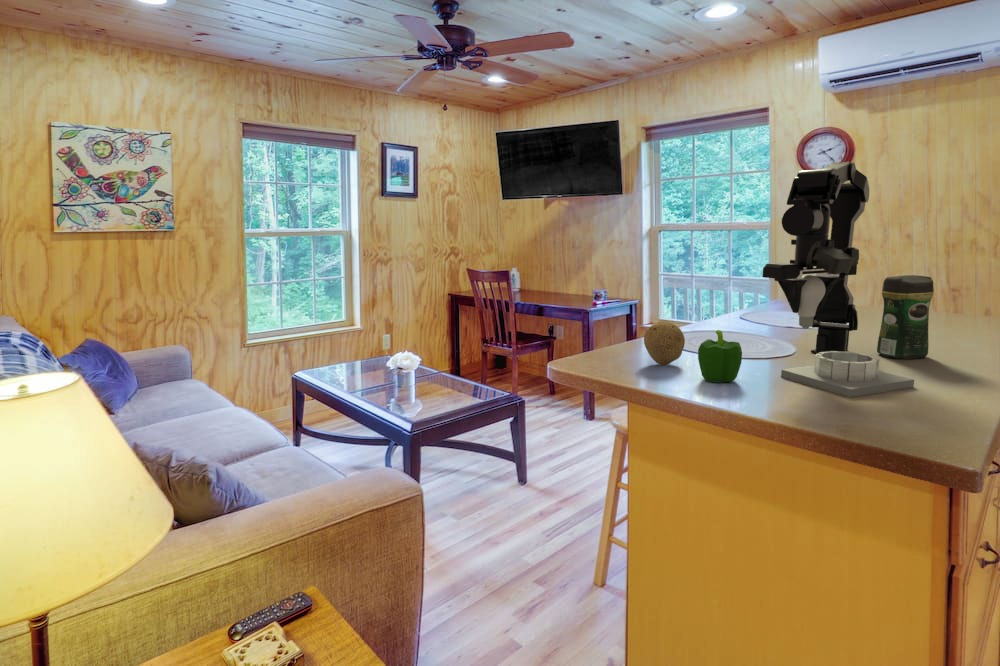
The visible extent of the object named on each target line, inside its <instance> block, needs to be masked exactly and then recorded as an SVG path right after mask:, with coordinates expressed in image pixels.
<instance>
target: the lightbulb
mask: <svg viewBox="0 0 1000 666" xmlns="http://www.w3.org/2000/svg"><path fill="white" fill-rule="evenodd" d="M802 279H803V280H807V282H806V283H805V284H804V285H803V286H802V289H801V299H800V307H799V312H798V313H797V315H798V325H799V326H800V327H802V329H805V330H807V329H809V328H812V326H813V319H814V316H815V313H816V309H817V306H818V304H819V303H820V301H821V300H822V298H823V297H824V295H825V290H826V289H825V285H824V283H823V281H822V280H821V279H819V278H818V277H816V276H815V275H812V274H805V275H802Z"/></svg>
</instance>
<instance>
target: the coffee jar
mask: <svg viewBox="0 0 1000 666" xmlns="http://www.w3.org/2000/svg"><path fill="white" fill-rule="evenodd" d="M881 288H882V289H881V296H882V299H883V308H882V309H883V310H882V316H881V317H882V318H881V323H880V324H881V325H880V330H879V335H878V339H877V345H876V352H877V353H878V354H879V355H881V356H882V357H885V358H895V359H902V360H907V359H910V360H911V359H919V358H925V357H927V356H928V355H929V321H930V319H929V313H930V306H931V301H932V299H933V296H934V280H933V279H932V277H931V276H926V275H924V276H923V275H916V274H904V275H896V276H895V275H894V276H888V277H886V278H885V279H884V280H883V283H882V287H881Z"/></svg>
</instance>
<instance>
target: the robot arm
mask: <svg viewBox="0 0 1000 666" xmlns="http://www.w3.org/2000/svg"><path fill="white" fill-rule="evenodd" d="M869 198H870V185H869V181H868V177H867V176H866V175H864V174H863V173H862V172H860V171H859V170H858V169H857V167H856V163H855V162H852V161H841V162H832V163H831V164H829V163H828V164H827V166H825V167H823V168H820V169H806V170H800V171H798V172H797V174H796V176H795V177H794V178H793V181H792V184H791V187H790V190H789V194H788V197H787V201H786V205H787V206H791V207H789V208H787V210H785V212H784V213H783V215H782V217H781V227H782V229H783V230H784V231H785V232H786V233H787V234H788V235H790V236H794V237H796V238H795V239H790V240H791V241H790V245H791V246H793V245H795V247H794V248H795V249H794V250H795V252H794V259H790V260H789V263H787V262H772V263H771V262H770V263H765V265H764V266H763V267H762V278H765V279H774V281H775V282H778V284H779V286H780V288H781V290H782V292H783V294H784V295H785V298H786V300H787V302H788V304H789V307H790V309H791V311H792V313H794V314H798V312H799V307H800V299H801V289H802V286H803V285H804V284H805V283H806V282H807V280H803V279H802V276H803V275H812V274H815V275H814V276H816V277H818V278H819V279H821V280H822V281H823V283H824V285H825V289H826V290H825V295H824V297H823V298H822V300H821V301H820V303H819V304H818V306H817V309H816V313H815V316H814V319H813V326H811V328H817V334H816V343H815V349H811V350H810V352H811V353H813V354H817V353H819V352H826V351H844V352H845V351H847V352H850V351H848V349H849V339H850V332H852V331H858V330H859V316H858V311H857V309H856V305H855V304H854V296H853V294H852V291H851V290H850V288H849V287H848V281H849V276H857V271H858V270H857V269H858V264H859V259H860V250H859V249H858V248H857V247H855V246H854V247H853V238H854V231H855V223H856V222H857V220H858V219H859V218H860V216H861V215H862V214H863V213H864V211H865V207H866V203H868V202H869ZM830 219H831V222H832V224H831V229H830ZM830 230H831V231H830ZM829 233H830V239H829Z"/></svg>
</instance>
